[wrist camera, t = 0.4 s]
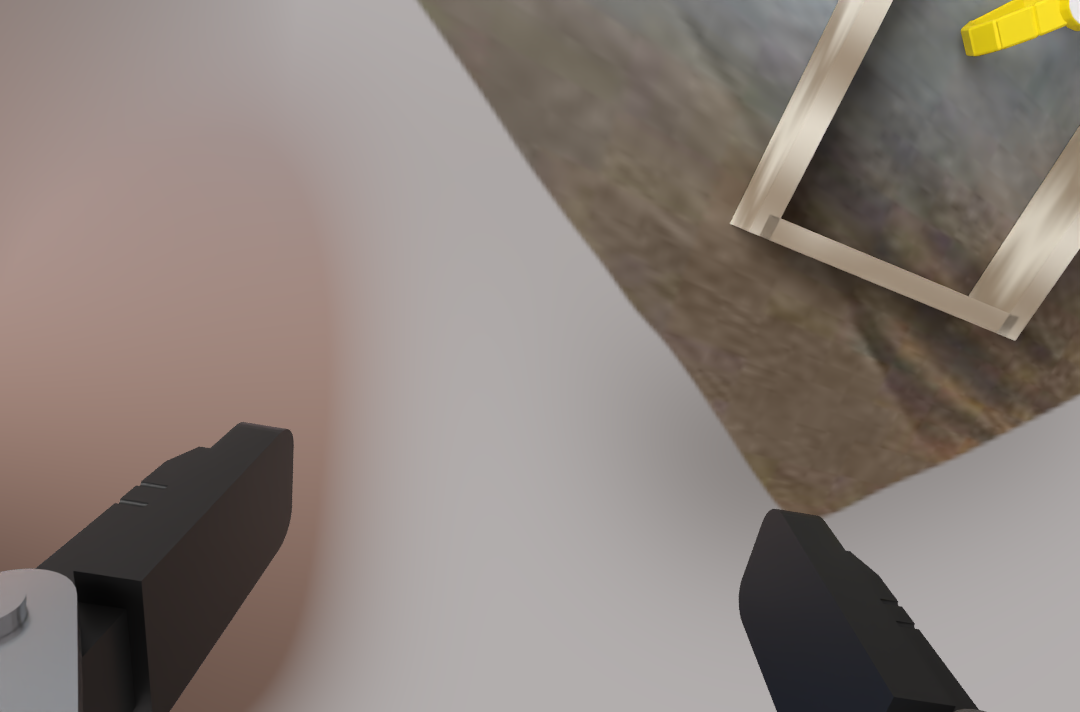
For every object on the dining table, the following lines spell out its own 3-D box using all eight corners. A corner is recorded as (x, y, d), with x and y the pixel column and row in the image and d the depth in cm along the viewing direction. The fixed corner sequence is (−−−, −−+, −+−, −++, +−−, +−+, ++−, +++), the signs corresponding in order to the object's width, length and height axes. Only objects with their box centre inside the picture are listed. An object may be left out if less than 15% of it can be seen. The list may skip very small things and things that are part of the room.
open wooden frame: (895, -117, 28) (940, -152, 25) (1173, 20, 30) (1249, 4, 27) (730, 223, 34) (748, 231, 31) (972, 323, 36) (1015, 340, 32)
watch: (946, 76, 31) (1032, 61, 26) (933, 24, 31) (1019, -4, 25) (1064, 19, 30) (1180, -10, 25) (1054, -37, 29) (1171, -80, 24)
